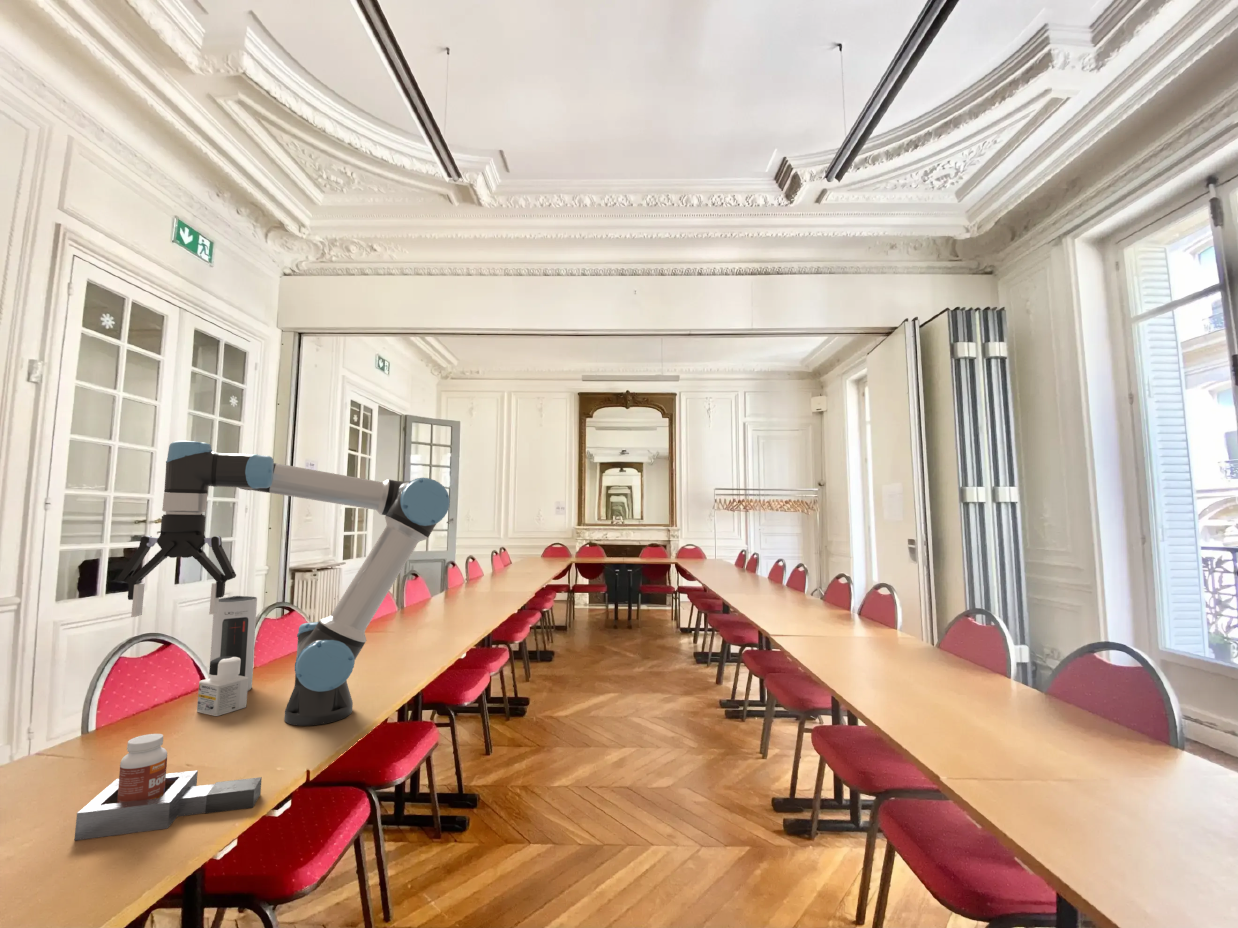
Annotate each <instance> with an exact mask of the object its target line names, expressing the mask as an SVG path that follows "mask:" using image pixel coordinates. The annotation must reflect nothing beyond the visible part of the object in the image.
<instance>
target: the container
mask: <svg viewBox="0 0 1238 928" xmlns="http://www.w3.org/2000/svg"><path fill="white" fill-rule="evenodd" d="M240 663H241V659H240V658H239V657H236V656H224V657H218V658H216V659H214V660H212V661H211V662H210V661H209V669H210V670H209V669H208V670H209V671H208V678H206V679H202V680H199V682H198V695H197V704H196V705H197V706H196V712H197V713H199V714H203V715H204V714H205V715H208V716H214V717H219V716H223V715H225V714H230V713H232V712H235V711H239V710H242V709H245V708H246V707H247V701H248V700H247V699H248V691H247V690H248V677H245V676H239V674H240Z"/></svg>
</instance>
